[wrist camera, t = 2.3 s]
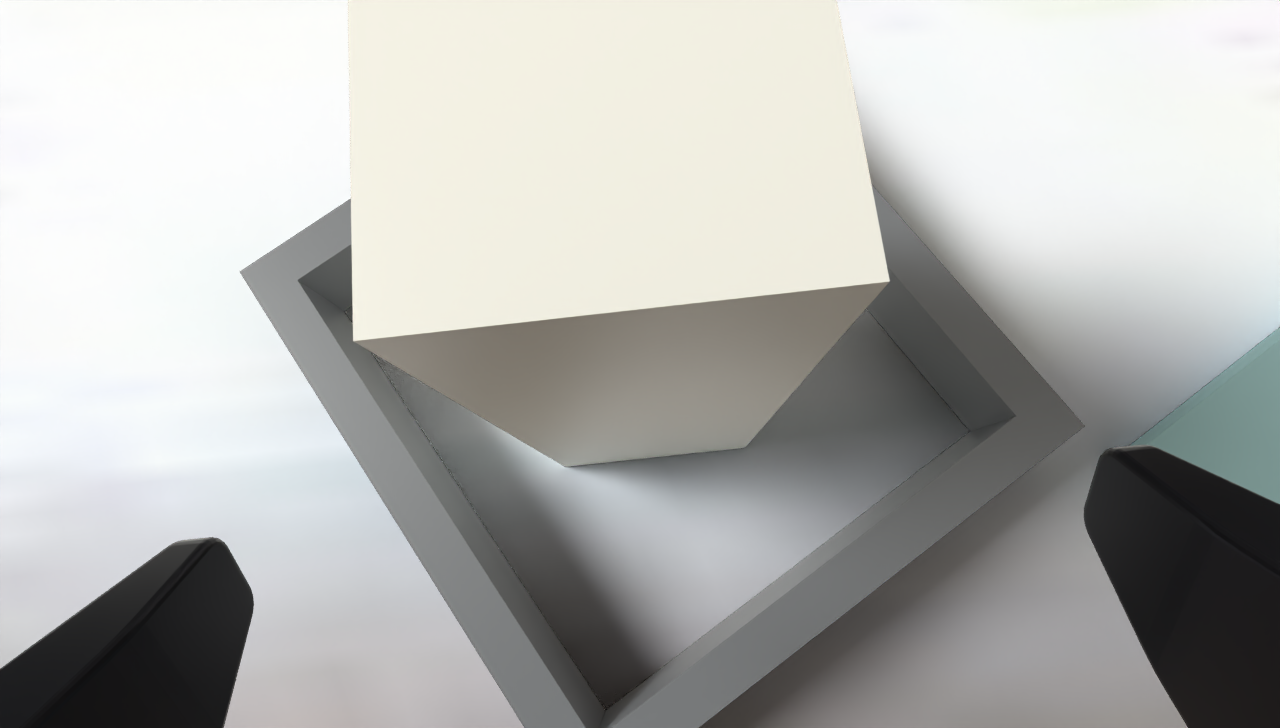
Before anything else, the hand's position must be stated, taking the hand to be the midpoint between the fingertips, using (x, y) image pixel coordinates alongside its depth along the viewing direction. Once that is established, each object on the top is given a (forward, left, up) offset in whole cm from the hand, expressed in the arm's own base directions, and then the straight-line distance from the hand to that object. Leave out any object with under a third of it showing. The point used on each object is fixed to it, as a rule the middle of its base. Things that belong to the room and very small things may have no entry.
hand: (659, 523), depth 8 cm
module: (+3, -2, -11) cm, 11 cm away
